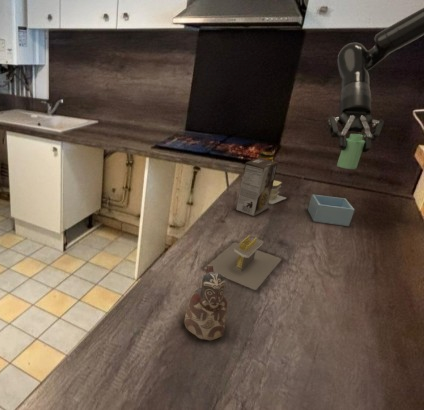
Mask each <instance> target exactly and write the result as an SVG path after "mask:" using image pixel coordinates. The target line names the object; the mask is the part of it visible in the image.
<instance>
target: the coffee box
mask: <svg viewBox="0 0 424 410" xmlns="http://www.w3.org/2000/svg"><path fill="white" fill-rule="evenodd" d="M278 164H279V161H274V160H273V161H271V160H268V159H263V158H258V157H257V158H254V159H252V160H249V161H246V162H245V163H244V169H243V173H242V179H241V183H240V189H239V194H238V198H237V203H236V211H239V212H242V213H244V214H247V215H250V216H253V217H255V216H257V215H259V214H261V213H262V212H264V211H265V210H268V207H269V204H270V203H269V199H270V195H271V191H272V186H273V182H274V180H275V178H276V174H277V169H278Z"/></svg>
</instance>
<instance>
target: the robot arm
mask: <svg viewBox="0 0 424 410" xmlns="http://www.w3.org/2000/svg"><path fill="white" fill-rule="evenodd" d="M423 36H424V7H422V8H420V9H418V10H417V11H415V12H414V13H412V14H410V15H407V16H406V17H404V18H402V19H400V20H399V21H397V22H395V23H393V24H392V25H390V26H388V27H386V28H385V29H383V30H381V31H380V32H378V33H377V34H375V36H374V37H373V40H374V41H373V43H374V46H373V47H371V48H370V49H369V50H367V48H366V47H365V46H364V45H363V44H362V43H359V42H350V43H347V44H346V45H344V46H343V47H342V48H341V49H340V51H339V52H338V55H337V59H336V62H337V64H336V65H337V69H338V73H339V76H340V94H339V100H338V102H339V103H338V104H339V105H338V106H339V107H338V108H339V111H338V115H339V116H337V117H335V116H334V115H331V116H329V117H328V119H327V121H326V124H327V127H328V131H329V134H330V137H331V138H336V139H337V141H338V142H337V144H338V145H337V147H338V149H340V151H341V150H344V149H345V148H346V138H347V134H348V132H355V133H357V134H360V135H363V138H362V140H364V141H365V144H364V147H363V150H362V153H367V152H368V151H369V150H370V149H371V148H372V142H373V141H376V140H377V138H378V137H379V136H380V135H381V131H382V129H383V126H384V123H385V120H384V119H382V118H381V119H379V120H378V119H374V118H373V117H372V115H371V114H372V93H371V88H370V84H371V83H370V74H369V71H370V70H371V69H373V68H374V67H375V66H376V65H377V64H379V63H381V61H383V60H384V59H385V58H387V56H389V55H390V54H391V53H394V52H395V51H397V50H399V49H401V48H403V47H405V46H406V45H409V44H411V43H412V42H414V41H416V40H419V38H421V37H423ZM338 124H339V125H340V126H341V127H342V128H341V130H340V131H339V127H338ZM370 125H371V127H372V129H373V130H372V132H371V127H370Z"/></svg>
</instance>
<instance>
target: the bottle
mask: <svg viewBox="0 0 424 410" xmlns="http://www.w3.org/2000/svg"><path fill="white" fill-rule="evenodd" d="M362 138H363V135H360V134H359V133H350V134H349V137H346V148H345V149H344V150H340V153H339V156H338V160H337V163H336V166H337V167H339V168H342V169H345V170H357V167H358V165H359V162H360V159H361V156H362V153H363V152H362V150H363V147H364V144H365V141H364V140H363V139H362Z"/></svg>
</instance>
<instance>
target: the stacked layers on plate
mask: <svg viewBox="0 0 424 410" xmlns="http://www.w3.org/2000/svg"><path fill="white" fill-rule="evenodd" d="M282 183H283V182H282V181H279V180H276V179H274V182H273V186H272V191H271V195H270V199H269V204H270V205H274V204H276V203H278V202H281V201H283V200H286V199H287V197H285V196H282V195H279V193H280V188H281V187H282V185H281V184H282Z"/></svg>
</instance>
